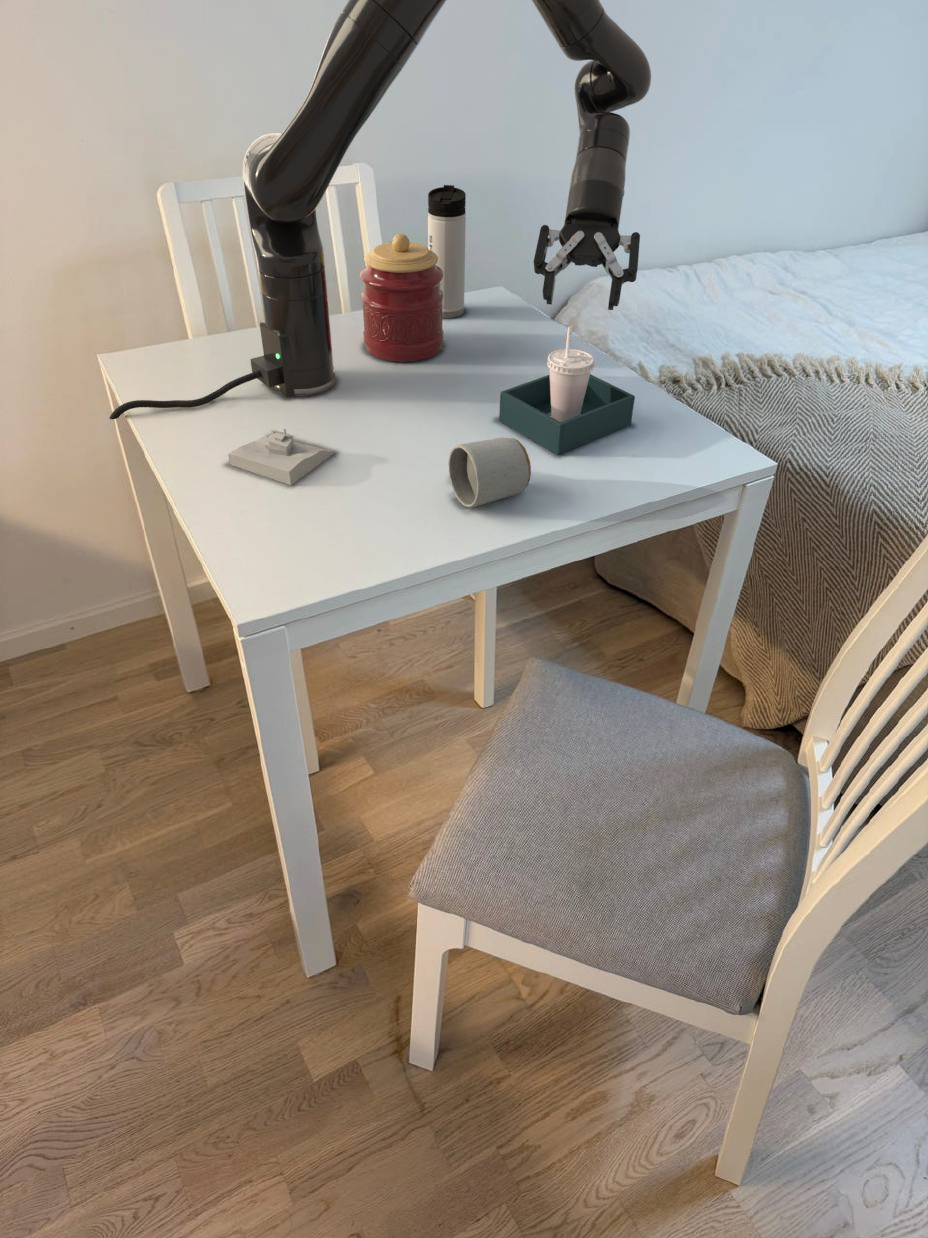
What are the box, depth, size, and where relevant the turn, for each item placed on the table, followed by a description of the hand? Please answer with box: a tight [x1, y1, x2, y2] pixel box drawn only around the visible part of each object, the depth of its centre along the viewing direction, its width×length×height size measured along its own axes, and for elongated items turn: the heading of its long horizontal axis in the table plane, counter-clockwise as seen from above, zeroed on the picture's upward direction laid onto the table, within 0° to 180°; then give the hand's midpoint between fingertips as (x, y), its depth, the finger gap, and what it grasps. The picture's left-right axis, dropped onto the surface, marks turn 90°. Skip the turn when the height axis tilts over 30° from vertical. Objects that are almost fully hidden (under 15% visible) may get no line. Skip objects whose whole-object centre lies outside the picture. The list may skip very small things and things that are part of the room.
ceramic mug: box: [448, 437, 532, 509], centre depth 109 cm, size 11×8×8 cm
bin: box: [498, 373, 636, 456], centre depth 124 cm, size 14×12×4 cm
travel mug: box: [427, 184, 467, 319], centre depth 150 cm, size 6×7×20 cm
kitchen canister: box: [359, 233, 444, 363], centre depth 139 cm, size 13×13×18 cm
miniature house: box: [227, 428, 335, 486], centre depth 115 cm, size 12×11×4 cm
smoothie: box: [546, 325, 595, 422], centre depth 121 cm, size 6×6×14 cm
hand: (579, 304), depth 122 cm, fingers open, 8 cm apart
